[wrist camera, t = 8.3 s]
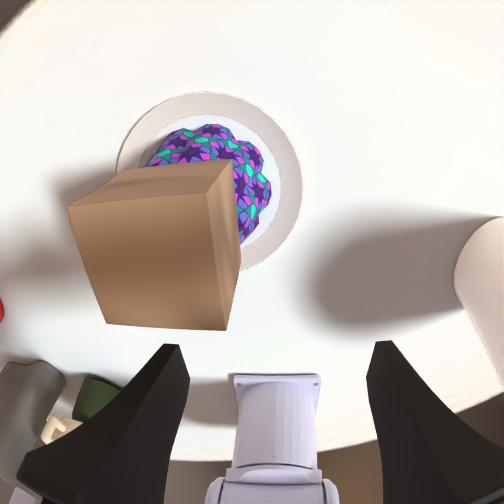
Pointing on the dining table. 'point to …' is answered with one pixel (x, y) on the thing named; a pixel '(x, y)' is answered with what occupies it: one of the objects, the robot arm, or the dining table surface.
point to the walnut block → (162, 245)
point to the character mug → (81, 409)
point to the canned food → (1, 311)
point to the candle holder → (484, 288)
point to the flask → (24, 410)
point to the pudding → (226, 147)
